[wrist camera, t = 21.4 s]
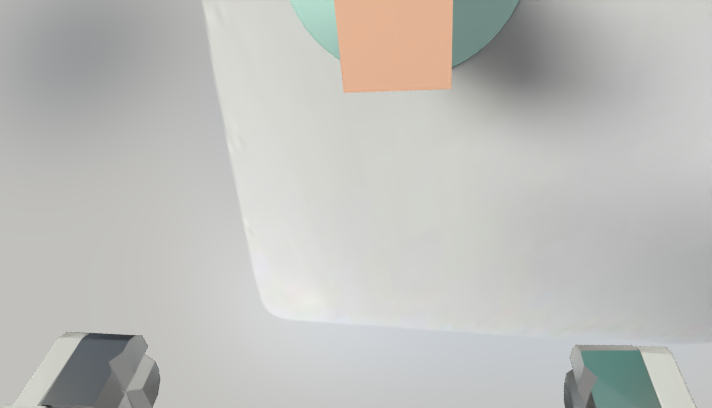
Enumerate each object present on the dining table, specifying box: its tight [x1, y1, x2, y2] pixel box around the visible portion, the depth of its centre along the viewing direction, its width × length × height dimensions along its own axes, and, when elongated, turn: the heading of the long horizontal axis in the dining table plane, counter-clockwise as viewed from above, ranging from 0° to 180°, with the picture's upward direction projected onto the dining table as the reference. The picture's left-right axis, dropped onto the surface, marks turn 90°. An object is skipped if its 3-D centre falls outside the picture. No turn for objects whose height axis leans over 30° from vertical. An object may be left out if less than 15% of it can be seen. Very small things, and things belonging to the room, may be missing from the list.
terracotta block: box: [334, 0, 453, 93], centre depth 26 cm, size 5×5×5 cm
